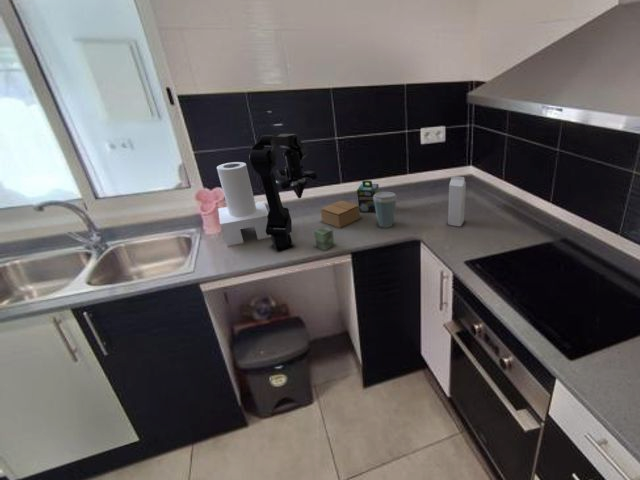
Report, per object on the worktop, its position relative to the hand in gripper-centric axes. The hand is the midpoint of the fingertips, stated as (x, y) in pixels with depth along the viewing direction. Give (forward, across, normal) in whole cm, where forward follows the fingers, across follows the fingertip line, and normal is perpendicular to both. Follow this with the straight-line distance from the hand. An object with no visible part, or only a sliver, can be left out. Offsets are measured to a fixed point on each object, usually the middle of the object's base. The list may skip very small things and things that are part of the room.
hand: (299, 198), depth 171 cm
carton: (+12, -12, +12) cm, 21 cm away
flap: (+6, -9, +12) cm, 16 cm away
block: (+12, +10, +27) cm, 31 cm away
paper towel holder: (+12, +21, -11) cm, 27 cm away
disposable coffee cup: (+12, -20, +33) cm, 41 cm away
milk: (+12, -40, +58) cm, 72 cm away
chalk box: (+12, -30, +14) cm, 35 cm away
